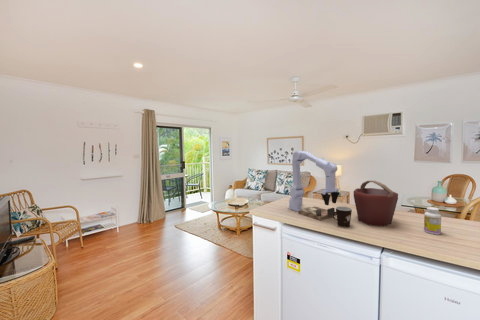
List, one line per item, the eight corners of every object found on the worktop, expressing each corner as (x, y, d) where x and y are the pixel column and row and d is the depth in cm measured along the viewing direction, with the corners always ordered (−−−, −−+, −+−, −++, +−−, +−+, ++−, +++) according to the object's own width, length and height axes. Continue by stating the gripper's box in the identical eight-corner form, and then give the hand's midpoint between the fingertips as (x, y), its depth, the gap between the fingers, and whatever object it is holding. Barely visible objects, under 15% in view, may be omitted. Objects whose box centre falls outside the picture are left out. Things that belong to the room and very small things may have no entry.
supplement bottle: (423, 228, 117) (424, 205, 117) (440, 231, 113) (440, 207, 112) (424, 232, 112) (424, 208, 111) (441, 235, 108) (442, 211, 107)
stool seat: (298, 213, 149) (298, 205, 149) (314, 209, 159) (314, 201, 159) (320, 220, 134) (320, 211, 134) (337, 215, 144) (337, 206, 144)
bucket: (404, 230, 116) (405, 184, 115) (360, 228, 121) (360, 184, 119) (383, 215, 140) (384, 178, 139) (347, 214, 145) (347, 178, 143)
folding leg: (318, 213, 140) (318, 209, 140) (315, 214, 139) (315, 210, 139) (304, 209, 150) (304, 205, 150) (301, 210, 149) (301, 206, 149)
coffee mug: (348, 222, 130) (348, 206, 129) (354, 228, 121) (354, 210, 120) (328, 222, 131) (328, 206, 130) (333, 227, 122) (333, 210, 122)
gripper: (329, 185, 127) (329, 207, 128) (343, 182, 135) (343, 203, 136) (319, 183, 133) (319, 204, 134) (332, 181, 141) (332, 201, 142)
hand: (330, 204), depth 135 cm, fingers open, 7 cm apart
